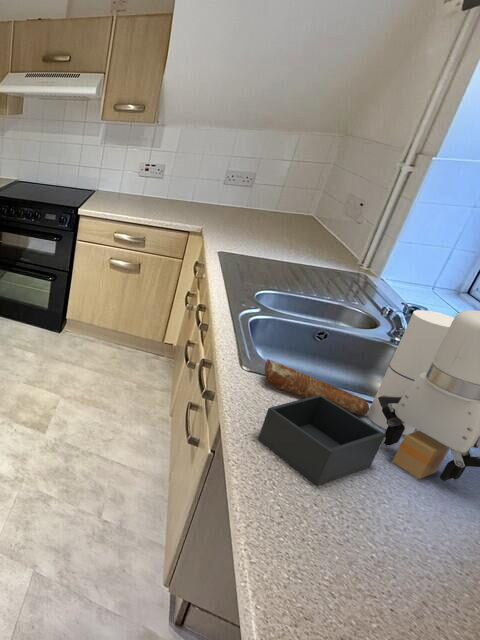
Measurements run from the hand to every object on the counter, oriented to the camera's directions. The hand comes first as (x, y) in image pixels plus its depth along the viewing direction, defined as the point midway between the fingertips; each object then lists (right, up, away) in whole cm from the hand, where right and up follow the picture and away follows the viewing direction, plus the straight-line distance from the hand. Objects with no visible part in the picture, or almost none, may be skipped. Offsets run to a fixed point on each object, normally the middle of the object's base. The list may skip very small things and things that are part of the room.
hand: (417, 459), depth 76 cm
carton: (0, -2, +1) cm, 2 cm away
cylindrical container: (+7, +2, +12) cm, 14 cm away
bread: (-4, +5, +19) cm, 20 cm away
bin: (-17, 0, +3) cm, 17 cm away
